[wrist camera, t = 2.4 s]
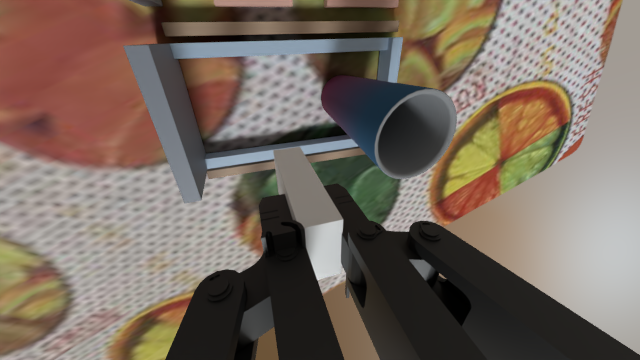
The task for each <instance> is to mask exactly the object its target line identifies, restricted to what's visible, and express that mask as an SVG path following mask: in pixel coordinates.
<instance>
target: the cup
mask: <svg viewBox="0 0 640 360" xmlns="http://www.w3.org/2000/svg"><path fill="white" fill-rule="evenodd" d="M321 101H322V106H323V108H324V110H325V111H326V112H327V113H328V114H329V115H330V116H331V117H332V118H333V120H334V121H335V122H336V123H337V124H338V125H339V126H340V127H341V128H342V129H343V130H344V131H345V132H346V133H347V134H348V135H349V137H350V138H351V139H352V140H353V141H354V142H355V143H356V144H357V145H358V146H359V147H360V148H361V149H362V150H363V151H364V152H365V153H366V155H367V156H368V157H369V158H370V159H371V160H372V161H373V162H374V163H375V164H376V165H377V166H378V167H379V168H380V169H381V170H382V172H383V173H385V174H386V175H388V176H390V177H393V178H397V179H406V178H411V177H415V176H417V175H419V174H421V173H424V172H425V171H427V170H428V169H430V168H431V167H432V166H433V165H434V164H435V163H437V162H438V160H439V159H440V158H441V157H442V156H443V155H444V153H445V152H446V150H447V149H448V147H449V145H450V143H451V141H452V139H453V136H454V133H455V129H456V123H457V114H456V109H455V106H454V104H453V101H452V100H451V99H450V97H449V96H448V95H447V94H445V93H444V92H442V91H440V90H437V89H433V88H426V87H420V86H413V85H406V84H400V83H393V82H387V81H380V80H373V79H367V78H360V77H353V76H347V75H338V76H335V77H333V78H332V79H330V80H329V81H328V82H327V83H326V85H325V86H324V88H323V91H322V95H321Z"/></svg>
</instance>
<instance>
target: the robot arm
mask: <svg viewBox="0 0 640 360" xmlns="http://www.w3.org/2000/svg"><path fill="white" fill-rule="evenodd" d="M273 154H274V161H275V169H276V176H277V184H278V191H279V195H276V196H270V197H265V198H262V200H261V202H260V204H259V211H260V218H261V226H262V236H261V240H262V245H263V250H264V252H263V255H262V257H261V258H260V260H259V261H258V262H257V263H256V264H254V265H253V266H251V267H250V268H248V269H246V270H245V271H243V272H241V273H238V272H236V271H235V270H221V271H217V272H215V273H213V274H211V275H209V276H207V277H206V278H205V279H204V280H203V281H202V282H201V283H200V284H199V285H198V287H197V289H196V290H195V292H194V294H193V297H192V299H191V301H190V304H189V306H188V308H187V310H186V313H185V315H184V317H183V320H182V322H181V324H180V327H179V329H178V331H177V334H176V336H175V338H174V341H173V343H172V345H171V347H170V350H169V352H168V354H167V357H166V359H165V360H255V358H256V351H257V345H258V338H259V337H260V336H262V335H263V334H264V333H266V332H267V331H269V330H270V329H271V328H273V327H275V334H276V342H277V349H278V356H279V360H344V357H343V354H342V351H341V349H340V346H339V343H338V340H337V337H336V334H335V331H334V328H333V325H332V322H331V319H330V316H329V313H328V310H327V308H326V304H325V302H324V299H323V296H322V293H321V290H320V287H319V284H318V281H317V280H319V279H323V278H326V277H330V276H333V275H337V274H341V269H342V266H343V268H344V270H345V272H346V288H345V294H346V298H349V292H350V293H351V296H352V298H353V300H354V302H355V305H356V307H357V309H358V311H359V313H360V316H361V318H362V320H363V322H364V324H365V327H366V329H367V331H368V333H369V336H370V338H371V340H372V342H373V345H374V347H375V349H376V351H377V354H378V356H379V358H380V360H640V355H639V354H637V353H636V352H634V351H633V350H631V349H630V348H628V347H627V346H625V345H623V344H622V343H620V342H619V341H617V340H616V339H614V338H613V337H611V336H610V335H608V334H607V333H605V332H603V331H602V330H600V329H599V328H597V327H596V326H594V325H593V324H591V323H589V322H588V321H587V320H585V319H583V318H582V317H580V316H579V315H577V314H576V313H574V312H573V311H571V310H570V309H568V308H567V307H565V306H563V305H562V304H560V303H559V302H557V301H556V300H554V299H553V298H551V297H550V296H548V295H546V294H545V293H543V292H542V291H540V290H539V289H537V288H535V287H534V286H533V285H531V284H530V283H528V282H526V281H525V280H523V279H522V278H520V277H519V276H517V275H516V274H514V273H513V272H511V271H510V270H508V269H507V268H505V267H503V266H502V265H500V264H499V263H497V262H496V261H494V260H493V259H491V258H490V257H488V256H486V255H485V254H483V253H482V252H480V251H479V250H477V249H476V248H474V247H473V246H471V245H469V244H468V243H466V242H465V241H463V240H462V239H460V238H459V237H457V236H456V235H454V234H453V233H451V232H450V231H448V230H446V229H445V228H443V227H442V226H440V225H438V224H436V223H433V222H429V221H418V222H415V223H413V224H412V225H411V226H410V230H409V232H393V231H386V230H385V228H383V227H382V226H381V225H380V224H378V223H376V222H374V221H369V220H368V219H367V217H366V216H365V215H364V213H363V212H362V210H361V209H360V208H359V206H358V205H357V204H356V202H354V200H353V198H352V197H351V196H350V194H349V193H348V191H347V190H346V189H345V188H344V187H342V186H340V185H339V184H332V185H327V186H323V185H322V183H321V181H320V180H319V178H318V176H317V175H316V173H315V171H314V170H313V168H312V166H311V164H310V163H309V161H308V159H307V158H306V156H305V154H304V153H303V151H302V149H301V148H300V147H294V148H287V149H279V150H273ZM439 273H440V274H442V275H443V276H444V277H445V278H446V279H443V278H442V277H440V276H439Z"/></svg>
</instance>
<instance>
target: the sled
mask: <svg viewBox="0 0 640 360" xmlns="http://www.w3.org/2000/svg"><path fill="white" fill-rule="evenodd" d="M402 41H403V37H390V38H353V39H316V40H279V41H241V42H204V43H167V44H145V45H129V46H123V47H124V49H125V52H126V54H127V57H128V59H129V62H130V65H131V67H132V70H133V72H134V75H135V77H136V80H137V82H138V85H139V88H140V90H141V93H142V95H143V98H144V100H145V103H146V106H147V108H148V111H149V113H150V116H151V118H152V121H153V123H154V126H155V129H156V131H157V134H158V136H159V139H160V141H161V144H162V147H163V149H164V152H165V154H166V157H167V159H168V162H169V165H170V167H171V170H172V172H173V175H174V177H175V180H176V182H177V185H178V188H179V190H180V193H181V195H182V198H183V200H184V203H189V202H195V201H200V200H201V199H202V194H203V189H204V184H205V179H206V174H207V169H211V168H218V167H224V166H231V165H238V164H244V163H251V162H258V161H264V160H271V159H274V154H273V150H279V149H287V148H294V147H300V148H301V149H302V151H303V153H304V154H311V153H318V152H324V151H331V150H338V149H344V148H351V147H358V145H357V144H356V143H355V142H354V141H353V140H352V139H351V138H350V137H349V135H342V136H334V137H327V138H320V139H312V140H305V141H297V142H290V143H283V144H275V145H268V146H260V147H253V148H245V149H238V150H231V151H223V152H216V153H208V154H206V153H205V149H204V146H203V142H202V139H201V136H200V132H199V129H198V125H197V122H196V118H195V115H194V112H193V108H192V105H191V101H190V98H189V95H188V91H187V88H186V84H185V81H184V78H183V74H182V71H181V67H180V64H179V61H178V59H187V58H211V57H235V56H259V55H283V54H307V53H331V52H355V51H379V50H380V55H379V65H378V75H377V80H380V81H387V82H393V83H397V77H398V70H399V62H400V55H401V48H402Z"/></svg>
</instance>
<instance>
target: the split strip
mask: <svg viewBox="0 0 640 360" xmlns="http://www.w3.org/2000/svg"><path fill="white" fill-rule="evenodd" d="M130 1H132V2H135V3H138V4H140V5H143V6H163V4H162V1H161V0H130ZM398 1H399V0H324V8H396V7H398ZM214 4H215V7H292V6H293V3H292V0H214Z"/></svg>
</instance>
